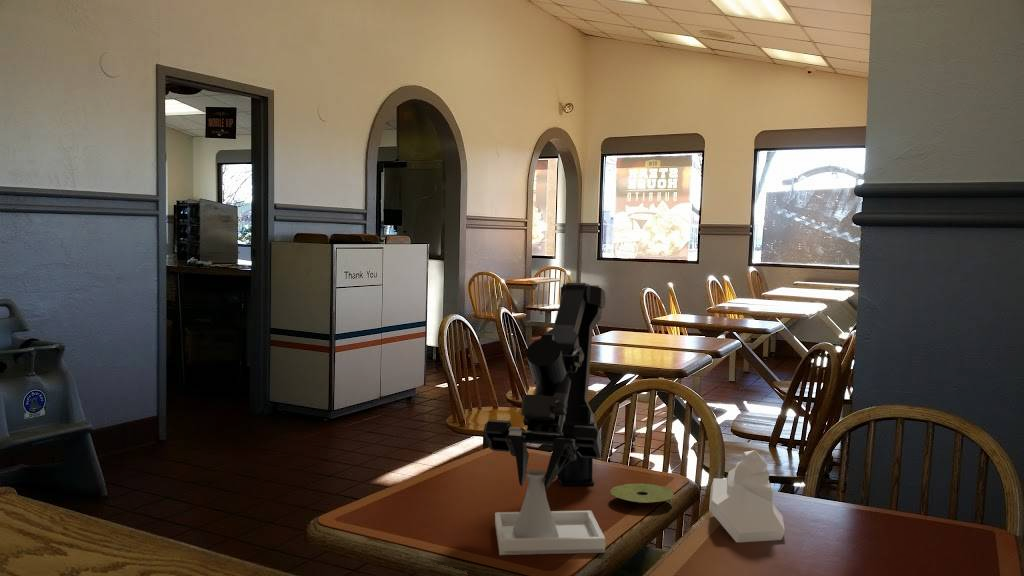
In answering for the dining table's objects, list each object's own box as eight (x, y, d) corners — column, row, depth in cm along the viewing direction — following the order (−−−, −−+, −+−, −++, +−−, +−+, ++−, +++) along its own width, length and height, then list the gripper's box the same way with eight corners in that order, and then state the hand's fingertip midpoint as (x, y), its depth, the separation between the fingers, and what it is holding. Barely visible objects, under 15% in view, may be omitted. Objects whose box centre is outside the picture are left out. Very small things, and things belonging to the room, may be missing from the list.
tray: (590, 523, 139) (591, 510, 139) (605, 552, 126) (605, 538, 126) (495, 525, 138) (495, 512, 138) (499, 555, 125) (499, 540, 125)
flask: (546, 524, 137) (547, 464, 136) (566, 539, 130) (567, 476, 129) (505, 530, 134) (506, 468, 133) (524, 546, 127) (524, 481, 126)
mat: (600, 496, 154) (600, 485, 154) (655, 490, 157) (655, 480, 157) (627, 515, 143) (627, 504, 143) (685, 509, 146) (685, 498, 146)
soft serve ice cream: (778, 525, 143) (803, 450, 140) (776, 564, 129) (803, 482, 126) (707, 500, 146) (729, 426, 143) (697, 535, 132) (721, 454, 129)
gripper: (486, 371, 137) (464, 454, 127) (599, 376, 131) (585, 464, 122) (500, 408, 145) (480, 490, 135) (607, 415, 139) (594, 500, 130)
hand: (533, 485), depth 130 cm, fingers open, 4 cm apart
